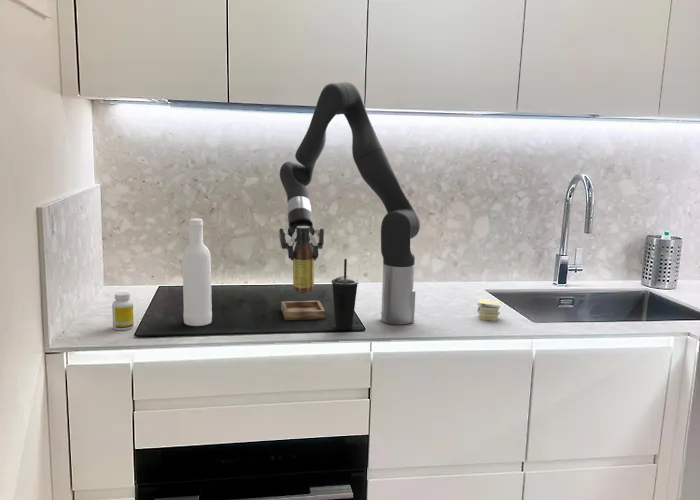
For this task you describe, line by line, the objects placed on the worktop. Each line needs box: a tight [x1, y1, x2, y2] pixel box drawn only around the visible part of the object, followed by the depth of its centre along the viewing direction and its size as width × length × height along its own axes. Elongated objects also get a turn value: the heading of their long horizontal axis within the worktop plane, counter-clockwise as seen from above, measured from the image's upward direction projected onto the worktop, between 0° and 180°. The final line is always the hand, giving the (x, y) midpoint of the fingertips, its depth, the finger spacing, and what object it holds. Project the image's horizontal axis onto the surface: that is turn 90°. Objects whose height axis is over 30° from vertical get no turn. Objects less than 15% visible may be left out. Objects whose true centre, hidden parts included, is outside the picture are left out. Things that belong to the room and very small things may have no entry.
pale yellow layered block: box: [476, 298, 501, 322], centre depth 192 cm, size 10×9×6 cm
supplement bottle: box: [111, 291, 135, 331], centre depth 173 cm, size 5×5×10 cm
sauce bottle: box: [292, 226, 315, 294], centre depth 188 cm, size 6×6×20 cm
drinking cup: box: [330, 258, 359, 331], centre depth 177 cm, size 8×8×20 cm
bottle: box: [182, 217, 213, 327], centre depth 178 cm, size 8×8×30 cm
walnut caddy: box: [280, 300, 326, 321], centre depth 191 cm, size 12×12×2 cm
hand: (303, 258), depth 187 cm, fingers closed on sauce bottle, 6 cm apart
